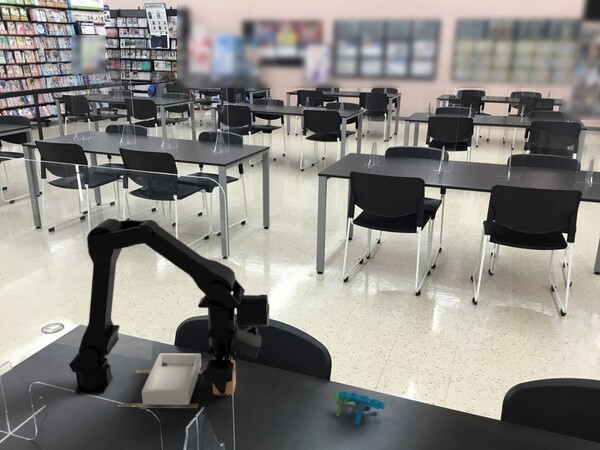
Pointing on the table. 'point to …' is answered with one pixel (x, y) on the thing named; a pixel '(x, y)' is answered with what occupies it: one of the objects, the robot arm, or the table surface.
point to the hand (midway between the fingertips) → (224, 384)
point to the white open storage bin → (172, 379)
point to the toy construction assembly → (359, 400)
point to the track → (157, 405)
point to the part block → (229, 386)
